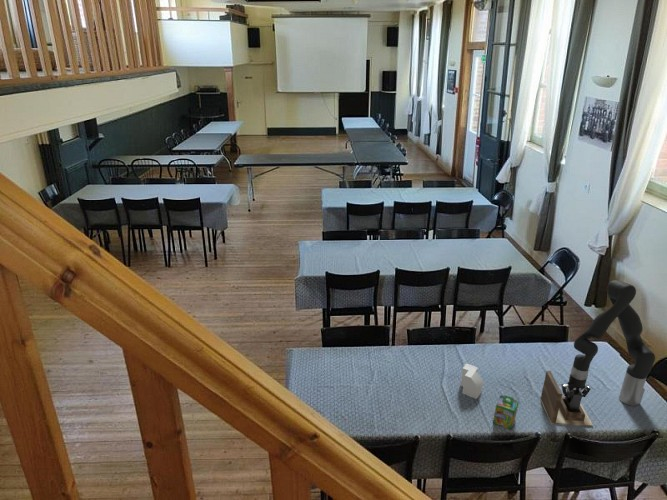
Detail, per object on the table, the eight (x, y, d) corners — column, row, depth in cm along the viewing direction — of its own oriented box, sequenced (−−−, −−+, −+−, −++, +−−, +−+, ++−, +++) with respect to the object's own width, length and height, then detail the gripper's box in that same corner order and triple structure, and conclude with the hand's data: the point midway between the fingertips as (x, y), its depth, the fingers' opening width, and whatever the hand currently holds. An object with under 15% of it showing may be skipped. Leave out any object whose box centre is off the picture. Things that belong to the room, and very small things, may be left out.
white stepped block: (463, 380, 273) (466, 363, 269) (483, 388, 267) (486, 370, 263) (456, 391, 265) (458, 373, 261) (476, 399, 259) (479, 381, 255)
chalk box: (492, 423, 243) (496, 399, 237) (497, 412, 250) (501, 389, 244) (511, 430, 239) (515, 406, 233) (515, 419, 246) (520, 395, 240)
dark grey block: (571, 403, 252) (576, 384, 248) (577, 414, 245) (582, 395, 240) (563, 403, 253) (568, 384, 248) (569, 413, 245) (574, 394, 241)
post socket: (579, 402, 257) (586, 372, 250) (592, 426, 241) (601, 396, 233) (540, 399, 259) (546, 370, 252) (551, 424, 242) (558, 393, 235)
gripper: (590, 370, 243) (583, 398, 250) (561, 369, 244) (555, 396, 251) (596, 380, 236) (589, 408, 243) (566, 378, 237) (560, 406, 244)
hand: (572, 402), depth 247 cm, fingers closed on dark grey block, 4 cm apart
